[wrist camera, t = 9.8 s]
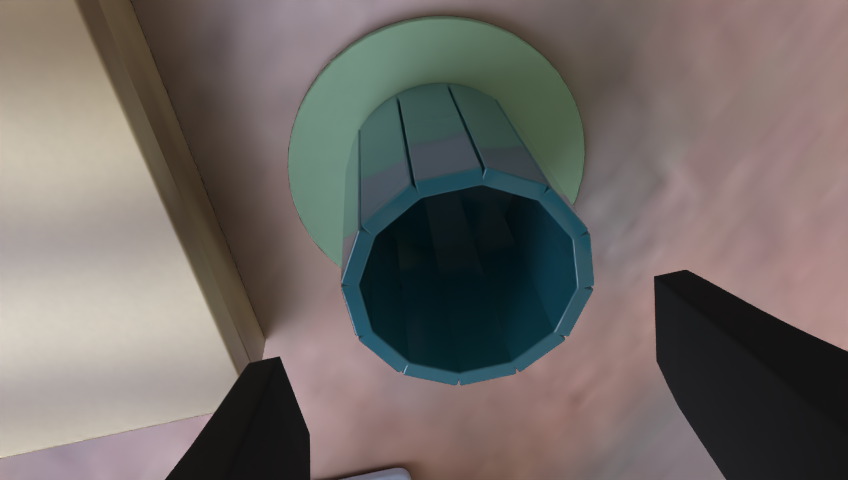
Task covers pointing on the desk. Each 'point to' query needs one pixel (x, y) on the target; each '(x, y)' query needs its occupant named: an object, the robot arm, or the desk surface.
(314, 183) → the coaster
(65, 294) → the shelf
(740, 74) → the desk surface
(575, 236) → the cup
